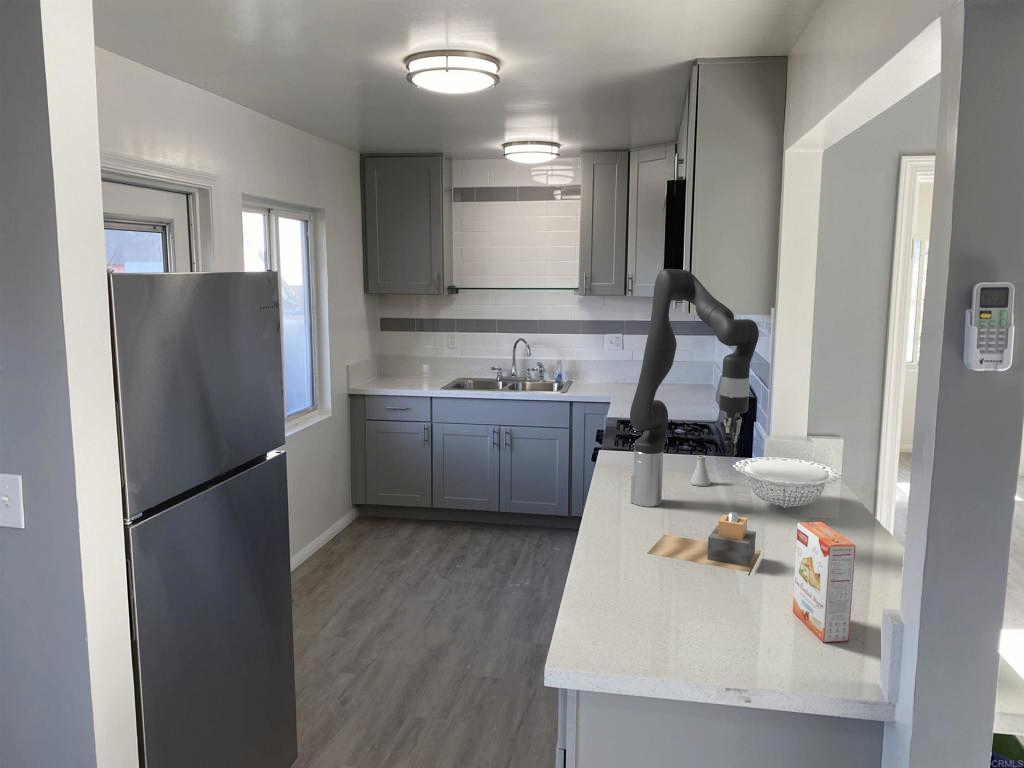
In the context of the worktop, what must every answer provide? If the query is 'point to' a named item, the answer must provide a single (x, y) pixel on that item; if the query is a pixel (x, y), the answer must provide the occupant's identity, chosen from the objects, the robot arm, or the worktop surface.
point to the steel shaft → (733, 517)
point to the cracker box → (824, 581)
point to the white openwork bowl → (786, 479)
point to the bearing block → (711, 550)
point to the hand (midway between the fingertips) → (730, 455)
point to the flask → (700, 473)
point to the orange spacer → (732, 528)
